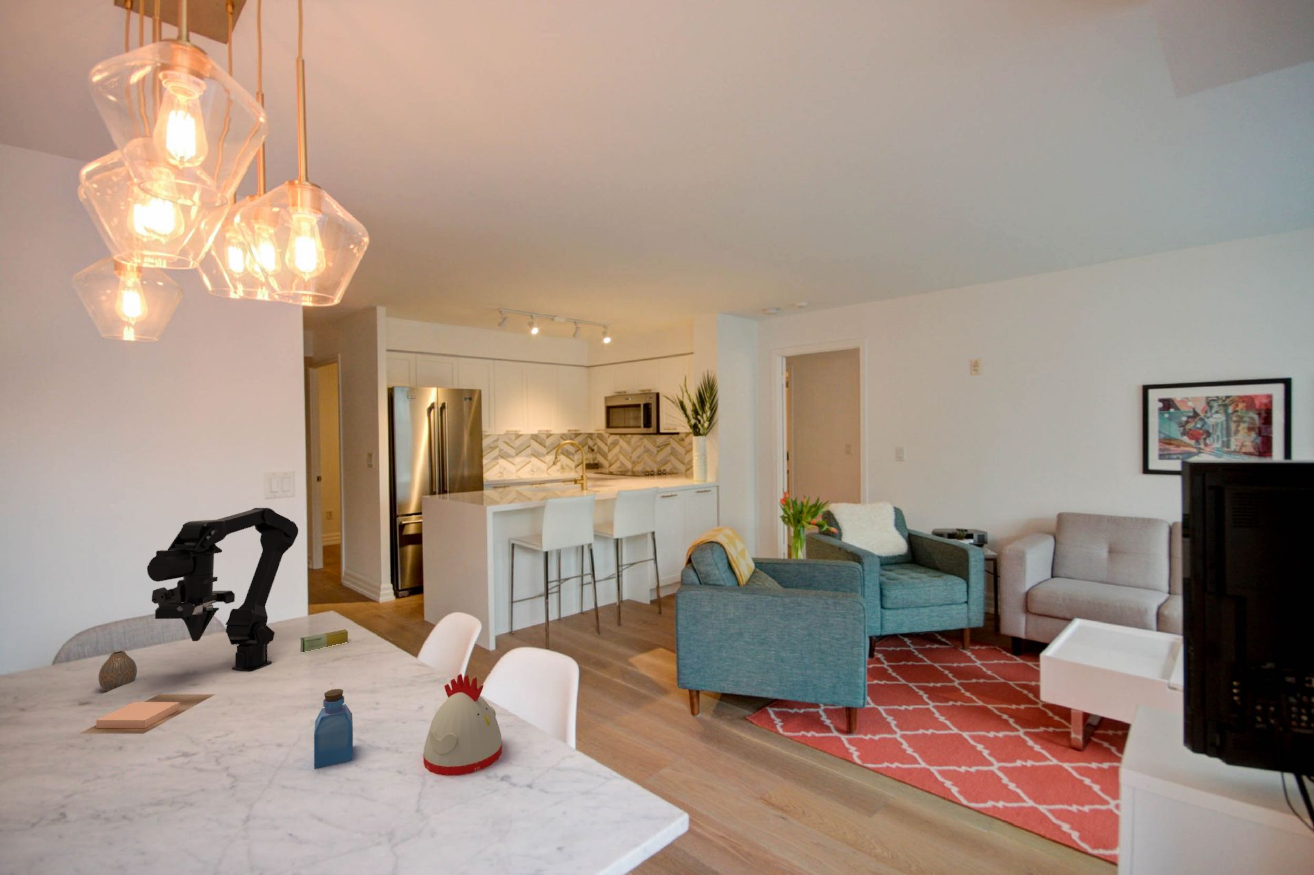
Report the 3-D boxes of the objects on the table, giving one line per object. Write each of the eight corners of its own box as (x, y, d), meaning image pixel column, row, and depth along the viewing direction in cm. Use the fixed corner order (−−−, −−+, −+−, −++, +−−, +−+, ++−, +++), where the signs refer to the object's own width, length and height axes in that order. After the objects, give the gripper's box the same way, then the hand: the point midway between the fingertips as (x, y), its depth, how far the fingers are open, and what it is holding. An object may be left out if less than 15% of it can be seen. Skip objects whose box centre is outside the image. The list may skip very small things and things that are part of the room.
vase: (144, 683, 149) (144, 647, 150) (116, 695, 143) (117, 657, 143) (119, 682, 150) (119, 647, 150) (90, 694, 143) (90, 656, 143)
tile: (133, 702, 131) (96, 720, 122) (179, 702, 131) (145, 720, 122) (133, 710, 131) (96, 728, 122) (179, 710, 131) (145, 728, 122)
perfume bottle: (314, 769, 109) (314, 702, 109) (315, 753, 115) (315, 689, 115) (352, 760, 112) (352, 695, 112) (352, 746, 117) (352, 683, 118)
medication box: (302, 654, 170) (302, 639, 170) (299, 651, 172) (299, 637, 172) (348, 644, 179) (348, 630, 179) (345, 641, 181) (345, 628, 181)
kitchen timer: (470, 782, 105) (470, 694, 105) (406, 768, 109) (406, 684, 109) (516, 744, 118) (515, 666, 118) (457, 733, 122) (457, 658, 123)
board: (159, 700, 139) (159, 694, 139) (215, 701, 139) (215, 694, 139) (79, 740, 120) (79, 733, 120) (143, 741, 120) (143, 733, 120)
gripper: (192, 568, 154) (189, 631, 153) (131, 581, 136) (128, 653, 135) (237, 568, 155) (234, 630, 154) (183, 581, 136) (179, 652, 135)
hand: (195, 641), depth 144 cm, fingers closed
